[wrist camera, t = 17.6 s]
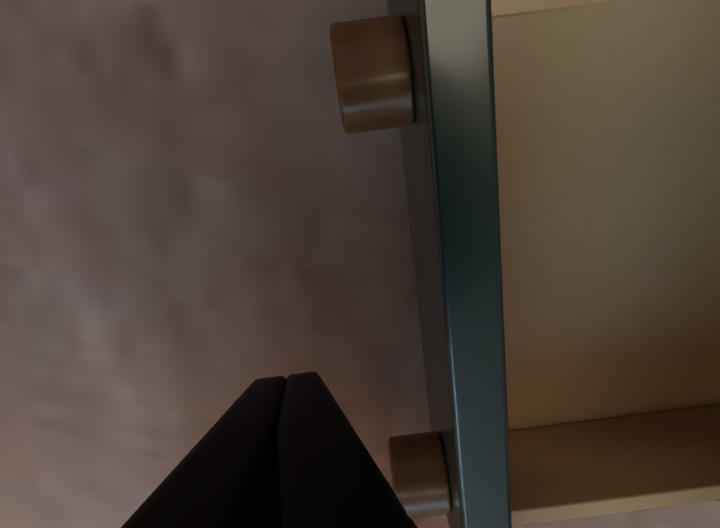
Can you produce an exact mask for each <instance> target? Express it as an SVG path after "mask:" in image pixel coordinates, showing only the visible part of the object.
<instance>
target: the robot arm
mask: <svg viewBox="0 0 720 528" xmlns="http://www.w3.org/2000/svg"><path fill="white" fill-rule="evenodd" d="M121 528H417V527H416V525H415V524H414V522H413V520H412V519H411V518H410V517H409V516H408V514H407V512H406V510H405V509H404V507H403V505H402V504H401V502H400V501H399V499H398V498H397V496H396V494H395V493H394V491H393V490H392V488H391V487H390V485H389V483H388V482H387V480H386V479H385V477H384V476H383V474H382V473H381V471H380V469H379V468H378V466H377V465H376V463H375V462H374V460H373V458H372V457H371V455H370V454H369V452H368V451H367V449H366V447H365V446H364V444H363V443H362V441H361V440H360V438H359V437H358V435H357V433H356V432H355V430H354V429H353V427H352V426H351V424H350V422H349V421H348V419H347V418H346V416H345V415H344V413H343V412H342V410H341V408H340V407H339V405H338V404H337V402H336V401H335V399H334V397H333V396H332V394H331V393H330V391H329V390H328V388H327V386H326V385H325V383H324V382H323V380H322V379H321V377H320V376H319V374H318V373H316V372H307V373H299V374H292V375H289V376H288V377H287V379H286V378H285V377H283V376H276V377H268V378H260V379H257V380H255V381H254V382H253V383H252V384H251V385H250V386H249V387H248V388H247V389H246V390H245V391H244V392H243V394H242V395H241V396H240V397H239V398H238V399H237V400H236V401H235V402H234V404H233V405H232V406H231V407H230V408H229V409H228V410H227V411H226V412H225V413H224V415H223V416H222V417H221V418H220V419H219V420H218V421H217V422H216V423H215V424H214V426H213V427H212V428H211V429H210V430H209V431H208V432H207V433H206V434H205V435H204V437H203V438H202V439H201V440H200V441H199V442H198V443H197V444H196V445H195V446H194V448H193V449H192V450H191V451H190V452H189V453H188V454H187V455H186V456H185V458H184V459H183V460H182V461H181V462H180V463H179V464H178V465H177V466H176V467H175V469H174V470H173V471H172V472H171V473H170V474H169V475H168V476H167V477H166V478H165V480H164V481H163V482H162V483H161V484H160V485H159V486H158V487H157V488H156V489H155V491H154V492H153V493H152V494H151V495H150V496H149V497H148V498H147V499H146V500H145V502H144V503H143V504H142V505H141V506H140V507H139V508H138V509H137V510H136V512H135V513H134V514H133V515H132V516H131V517H130V518H129V519H128V520H127V521H126V523H125V524H124V525H123V526H122V527H121Z"/></svg>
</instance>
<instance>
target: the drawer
mask: <svg viewBox="0 0 720 528" xmlns="http://www.w3.org/2000/svg"><path fill="white" fill-rule="evenodd" d="M387 1H388V11H389V16H382V17H375V18H368V19H361V20H354V21H347V22H339V23H333V24H332V25H331V26H330V37H331V46H332V54H333V61H334V69H335V76H336V84H337V91H338V98H339V105H340V111H341V118H342V124H343V130H344V131H345V133H348V134H349V133H357V132H364V131H371V130H379V129H386V128H393V127H400V128H401V138H402V148H403V157H404V167H405V177H406V187H407V197H408V206H409V216H410V226H411V236H412V245H413V255H414V265H415V275H416V285H417V294H418V304H419V314H420V324H421V333H422V343H423V353H424V363H425V373H426V382H427V392H428V402H429V412H430V421H431V432H424V433H416V434H408V435H400V436H392V437H389V438H388V450H389V458H390V466H391V474H392V482H393V489H394V493H395V494H396V496H397V498H398V499H399V501H400V502H401V504H402V505H403V507H404V509H405V510H406V512H407V514H408V516H409V517H410V518H411V519H413V518H421V517H429V516H437V515H445V514H447V517H448V522H449V527H450V528H512V526H520V525H528V524H536V523H544V522H552V521H560V520H568V519H576V518H584V517H592V516H600V515H608V514H616V513H624V512H632V511H639V510H647V509H655V508H663V507H671V506H679V505H687V504H695V503H703V502H711V501H719V500H720V0H387Z"/></svg>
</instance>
